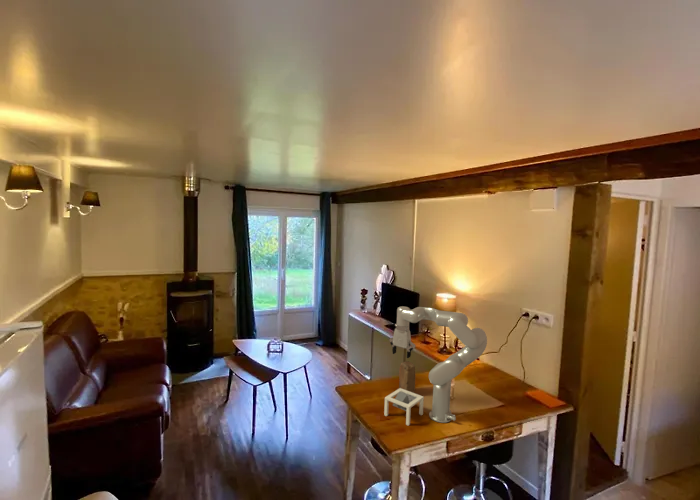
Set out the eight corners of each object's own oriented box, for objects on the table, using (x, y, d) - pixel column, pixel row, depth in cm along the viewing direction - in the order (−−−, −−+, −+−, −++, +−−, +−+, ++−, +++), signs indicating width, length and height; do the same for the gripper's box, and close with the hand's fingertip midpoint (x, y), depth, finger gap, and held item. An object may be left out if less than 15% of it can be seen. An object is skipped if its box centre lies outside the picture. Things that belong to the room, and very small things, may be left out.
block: (415, 395, 237) (416, 365, 235) (405, 397, 234) (406, 366, 232) (406, 388, 247) (407, 359, 245) (396, 390, 244) (397, 360, 242)
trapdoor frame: (422, 414, 215) (423, 396, 214) (408, 425, 202) (409, 407, 201) (399, 404, 225) (399, 388, 224) (384, 415, 213) (384, 397, 212)
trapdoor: (416, 398, 213) (416, 397, 213) (408, 411, 207) (407, 411, 207) (401, 392, 220) (401, 391, 220) (392, 405, 213) (392, 404, 213)
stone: (404, 408, 209) (402, 401, 206) (397, 405, 212) (395, 398, 209) (409, 401, 212) (407, 394, 209) (401, 398, 215) (399, 391, 213)
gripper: (387, 325, 224) (385, 353, 225) (412, 332, 213) (411, 361, 215) (393, 323, 229) (392, 350, 231) (418, 329, 219) (417, 357, 221)
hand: (401, 355), depth 223 cm, fingers open, 9 cm apart
